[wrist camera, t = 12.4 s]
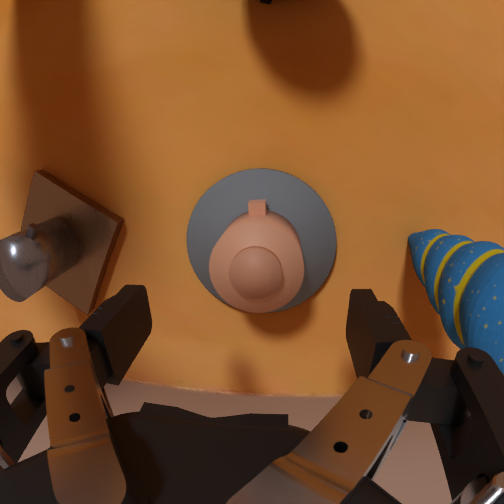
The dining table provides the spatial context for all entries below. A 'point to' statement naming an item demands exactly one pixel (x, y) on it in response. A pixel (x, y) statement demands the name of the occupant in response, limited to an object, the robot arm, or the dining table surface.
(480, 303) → the ornament
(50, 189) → the cylinder on square base
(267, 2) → the mate gourd
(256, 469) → the robot arm
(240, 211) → the coaster
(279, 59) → the dining table surface
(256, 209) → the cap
